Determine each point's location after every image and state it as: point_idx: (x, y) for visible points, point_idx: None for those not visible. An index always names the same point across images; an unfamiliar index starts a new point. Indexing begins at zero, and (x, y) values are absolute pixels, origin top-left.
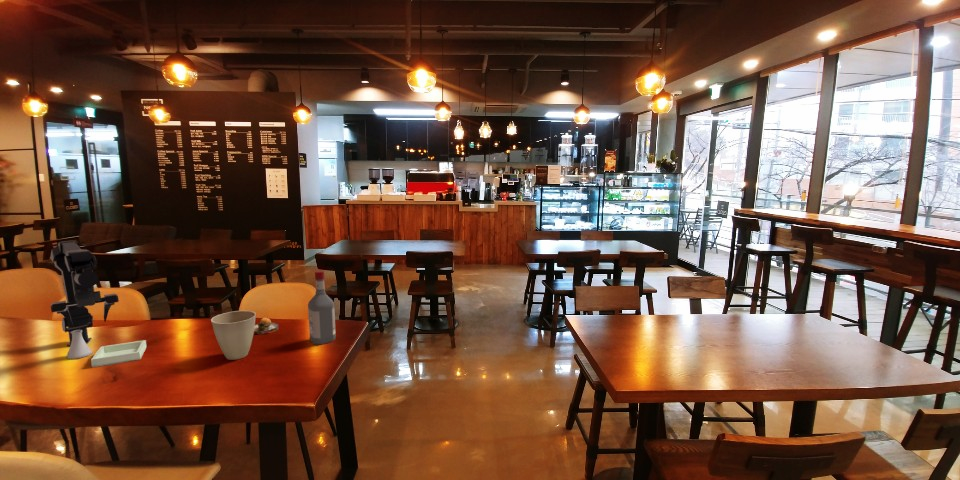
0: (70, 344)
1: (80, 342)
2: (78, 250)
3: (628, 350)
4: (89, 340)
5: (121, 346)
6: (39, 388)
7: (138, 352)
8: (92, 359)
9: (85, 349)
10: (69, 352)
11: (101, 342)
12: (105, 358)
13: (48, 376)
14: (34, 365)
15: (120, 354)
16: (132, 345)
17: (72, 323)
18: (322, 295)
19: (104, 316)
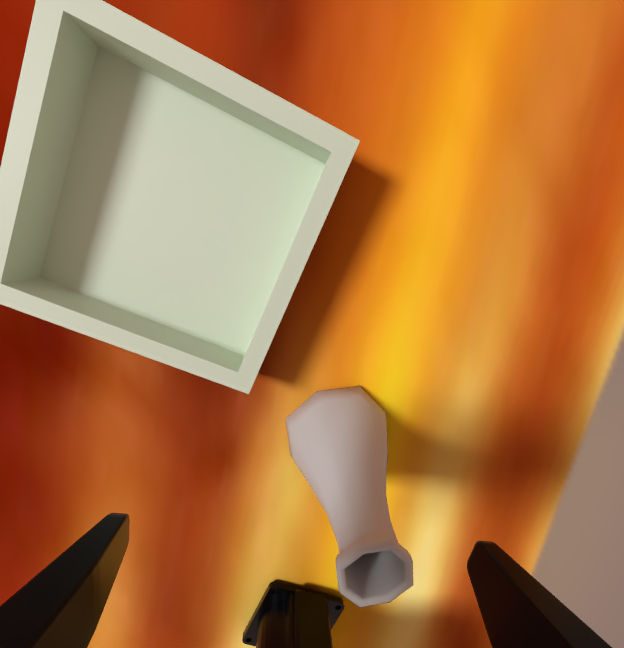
0: (330, 607)
1: (347, 467)
2: None
3: None
4: (256, 611)
5: (146, 331)
6: (619, 28)
7: None
8: (351, 136)
9: (321, 425)
10: (386, 449)
11: (218, 558)
12: (279, 100)
13: (524, 213)
14: (499, 444)
15: (181, 62)
16: (84, 304)
17: (525, 600)
18: None
19: (52, 609)
